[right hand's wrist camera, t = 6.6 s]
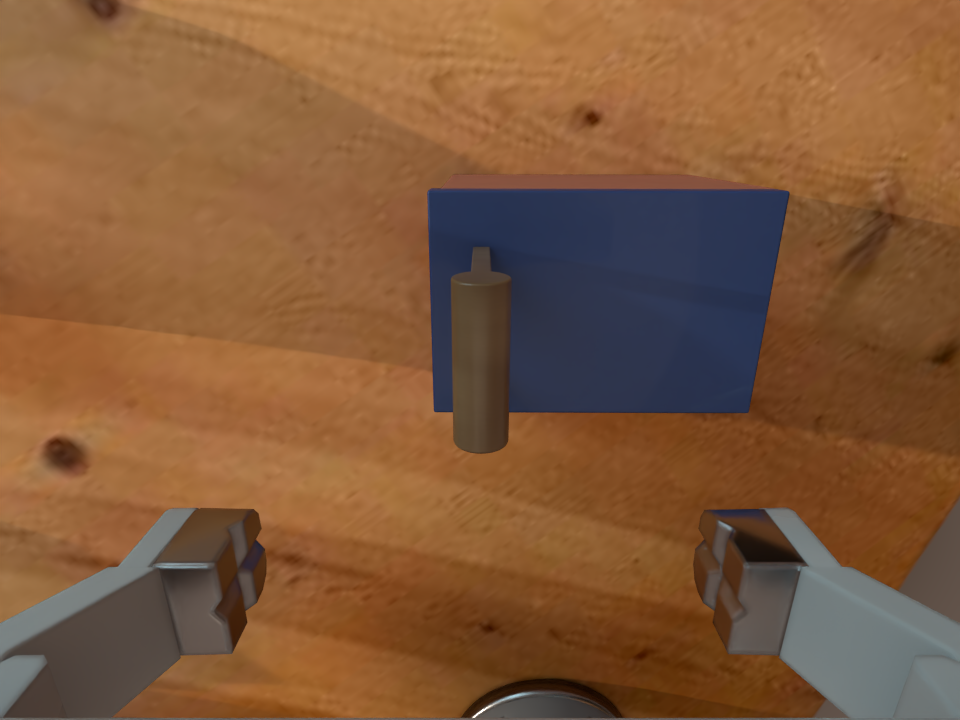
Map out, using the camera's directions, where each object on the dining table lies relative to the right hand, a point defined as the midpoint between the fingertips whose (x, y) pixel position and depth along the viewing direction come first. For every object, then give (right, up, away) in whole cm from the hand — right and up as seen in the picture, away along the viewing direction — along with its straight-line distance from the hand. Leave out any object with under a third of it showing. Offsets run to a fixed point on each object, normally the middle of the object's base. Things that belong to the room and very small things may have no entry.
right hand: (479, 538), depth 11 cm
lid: (+5, +6, +15) cm, 17 cm away
